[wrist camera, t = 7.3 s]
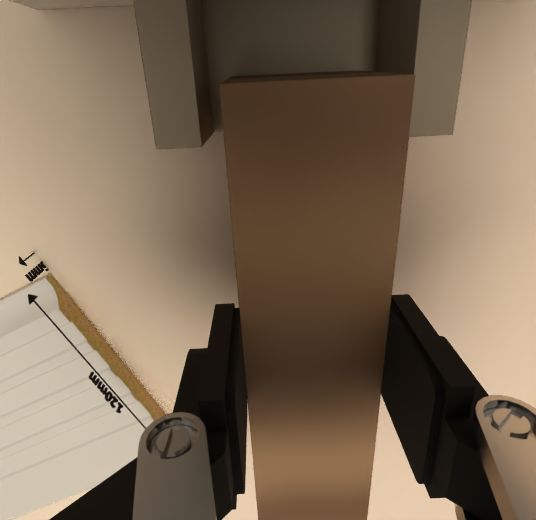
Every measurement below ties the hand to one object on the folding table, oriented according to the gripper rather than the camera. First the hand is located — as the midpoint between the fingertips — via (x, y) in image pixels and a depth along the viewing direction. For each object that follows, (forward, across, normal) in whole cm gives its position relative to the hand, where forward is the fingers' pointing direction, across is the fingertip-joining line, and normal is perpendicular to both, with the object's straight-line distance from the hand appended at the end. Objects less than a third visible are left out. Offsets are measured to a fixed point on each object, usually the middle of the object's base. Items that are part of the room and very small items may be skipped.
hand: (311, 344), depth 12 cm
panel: (+5, 0, -8) cm, 9 cm away
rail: (+5, 0, +1) cm, 5 cm away
